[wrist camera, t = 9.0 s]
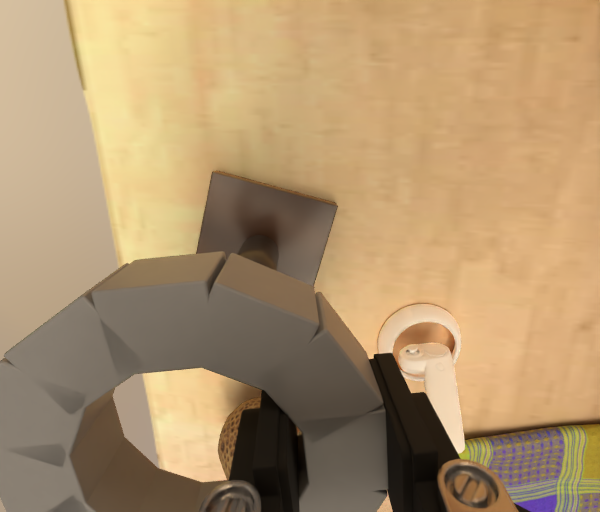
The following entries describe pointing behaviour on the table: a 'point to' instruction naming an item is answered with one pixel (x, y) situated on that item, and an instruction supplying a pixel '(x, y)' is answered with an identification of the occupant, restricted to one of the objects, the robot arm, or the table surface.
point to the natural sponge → (233, 434)
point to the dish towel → (545, 466)
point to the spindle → (266, 225)
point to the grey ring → (176, 356)
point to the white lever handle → (429, 363)
